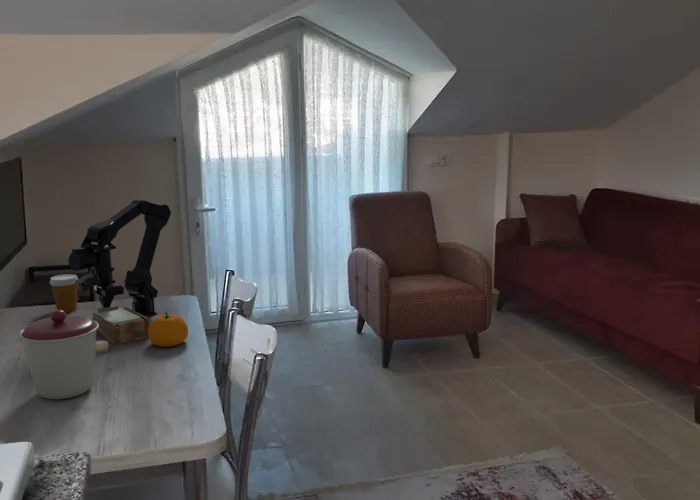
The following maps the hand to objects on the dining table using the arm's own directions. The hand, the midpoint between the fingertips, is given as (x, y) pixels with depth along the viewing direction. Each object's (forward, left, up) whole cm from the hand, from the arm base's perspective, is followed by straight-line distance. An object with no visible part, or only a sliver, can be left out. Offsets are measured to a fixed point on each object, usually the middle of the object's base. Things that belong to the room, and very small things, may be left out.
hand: (106, 311), depth 221 cm
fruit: (-7, +29, -5) cm, 31 cm away
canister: (+29, +45, -5) cm, 54 cm away
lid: (0, +9, 0) cm, 9 cm away
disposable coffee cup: (+3, -29, -5) cm, 29 cm away
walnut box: (0, +11, -5) cm, 12 cm away
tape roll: (+11, +21, -5) cm, 25 cm away
